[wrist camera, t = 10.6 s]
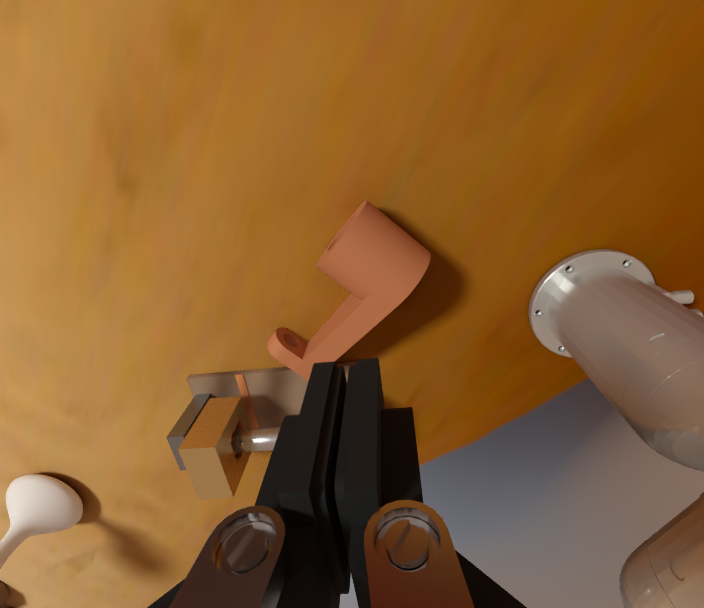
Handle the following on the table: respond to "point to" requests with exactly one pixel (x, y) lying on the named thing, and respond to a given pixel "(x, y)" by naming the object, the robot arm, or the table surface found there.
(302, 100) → the table surface
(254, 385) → the base board
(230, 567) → the robot arm
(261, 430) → the pipe rail
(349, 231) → the crank
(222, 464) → the collar
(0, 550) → the flower in vase
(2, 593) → the wooden block set
